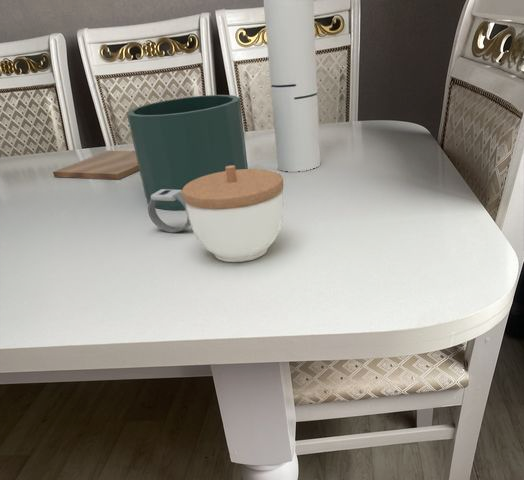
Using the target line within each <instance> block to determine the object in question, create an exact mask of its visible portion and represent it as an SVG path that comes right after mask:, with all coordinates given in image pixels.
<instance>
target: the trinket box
mask: <svg viewBox="0 0 524 480" xmlns="http://www.w3.org/2000/svg"><path fill="white" fill-rule="evenodd" d="M225 169H226V171H223V172H218V173H213V174H209V175H206V176H202V177H200V178H197V179H195V180H193V181H191V182H189V183H188V184H186V185H185V186H184V188H183V189H182V195H183V199H184V201H185V204H186V210H187V212H186V215H187V214H188V218H189V221H190V224H191V225H190V227H191V229H192V231H193V234H194V236H195V238H196V239H197V241H198V243H200V245H202V247H203V248H204V249H206V250H207V251H208V252H209V253H211V254H213V255H214V257H215V258H216V259H217V260H218V261H221V262H225V263H226V262H227V263H243V262H249V261H254V260H256V259H259V258H261V257H263V256H264V255H265V254H267V253H268V251H269V248H270V246H271V245H272V244H273V243H274V242H275V241H276V239H277V237H278V235H279V233H280V231H281V228H282V225H283V218H284V209H285V203H284V178H283V176H282V175H281V174H280V173H279V172H277V171H273V170H268V169H261V168H260V169H259V168H248V169H239V170H235V166H233V165H231V166H226V167H225ZM186 210H185V211H186Z"/></svg>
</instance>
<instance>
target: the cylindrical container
mask: <svg viewBox="0 0 524 480" xmlns="http://www.w3.org/2000/svg"><path fill="white" fill-rule="evenodd" d="M314 5H315V3H314V0H263V10H264V11H263V12H264V21H265V22H264V23H265V24H264V25H265V33H266V45H267V57H268V69H269V70H268V71H269V80H270V93H271V105H272V115H273V116H272V117H273V127H274V140H275V152H276V163H277V170H279V171H281V170H282V171H281V172H285V171H288V172H287V173H299V172H298V171H300V172H307V171H311V170H314V169H313V168H315V169H316V167H317V168H319V167H320V166H321V149H320V148H321V146H320V125H319V121H320V120H319V101H318V77H317V76H318V75H317V52H316V51H317V49H316V31H315V6H314ZM318 166H319V167H318ZM310 169H311V170H310ZM306 170H307V171H306Z"/></svg>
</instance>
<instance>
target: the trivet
mask: <svg viewBox="0 0 524 480" xmlns="http://www.w3.org/2000/svg"><path fill="white" fill-rule="evenodd" d="M137 172H140V170H139V166H138V162H137V157H136V153H135V150H106V151H103V152H101V153H99V154H96V155H93V156H91V157H88V158H85V159H83V160H80V161H77V162H75V163H72V164H69V165H67V166H64V167H62V168H59V169H56V170H53V171H52V174H53V177H54V178H66V177H76V178H75V179H93V180H94V179H95V180H97V179H98V180H116V181H117V180H121V179H123V178H126V177H129V176H130V175H132V174H134V173H137Z"/></svg>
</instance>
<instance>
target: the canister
mask: <svg viewBox="0 0 524 480" xmlns="http://www.w3.org/2000/svg"><path fill="white" fill-rule="evenodd" d="M126 116H127V122H128V125H129V130H130V134H131V139H132V142H133V148H134V151H135V153H136V157H137V162H138V166H139V174H140V178H141V184H142V187H143V192H144V197H145V199H146V203H147V204H148V205H149V201H150V199H151V195H152V194H154V193H156V192H157V191H159V190H161V189H171V190H182V189H183V188H184V186H185V185H186V184H188V183H189V182H191V181H193V180H195V179H197V178H200V177H202V176H206V175H209V174H213V173H218V172H223V171H226V169H225V167H226V166H231V165H233V166H235V170H239V169H249V166H248V165H249V164H248V158H247V149H246V148H247V147H246V138H245V131H244V122H243V114H242V105H241V97H239V96H236V95H232V94H211V95H210V94H208V95H196V96H186V97H180V98H173V99H166V100H160V101H156V102H151V103H147V104H143V105H140V106H137V107H133V108H131V109H130V110H128V111H126ZM155 209H160V210H166V211H186V210H185V208H184V206H183V205H182V204H181V202H180V201H179V200H178V199H176V200H175V201H161V200H156V202H155Z"/></svg>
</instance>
